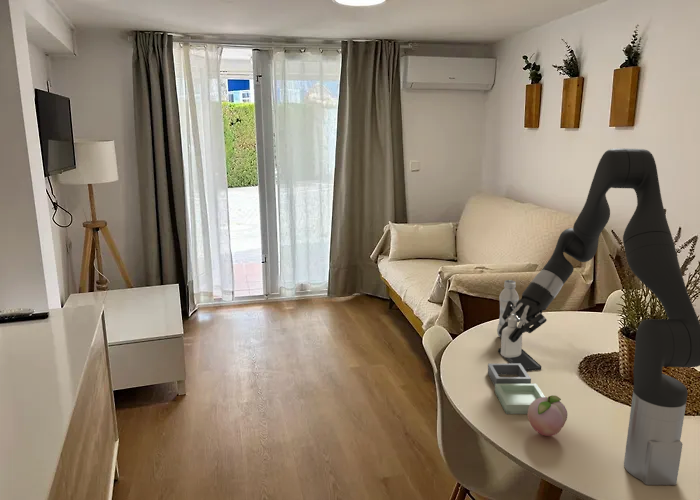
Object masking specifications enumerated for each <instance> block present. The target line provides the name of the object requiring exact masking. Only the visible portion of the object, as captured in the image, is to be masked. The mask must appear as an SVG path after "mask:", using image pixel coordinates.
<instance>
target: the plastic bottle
mask: <svg viewBox="0 0 700 500" xmlns="http://www.w3.org/2000/svg"><path fill="white" fill-rule="evenodd" d="M516 284H517V282H516V281H515V280H511V279H507V280H504V284H503V287H504V288H503V289H502V291H500V293H499V295H498V296H499V297H498V298H499V320H498V325H497V329H496V332H497V335H498V337H499V338H500V339H501V338H502V336H501V335H500V334H499V330H500V328H501V327H502V326H503V325H504V323H505V320H504V319H503V318H502V316H503V314H504V311H505V308H506V306H507V303H508V302H509V301H511V302H512V303H517V302H518V301H519V300H520V296H519V294H518V292H517V290H516V288H517V286H516Z"/></svg>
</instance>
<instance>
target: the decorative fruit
mask: <svg viewBox="0 0 700 500" xmlns="http://www.w3.org/2000/svg"><path fill="white" fill-rule="evenodd" d="M561 400H562V399H561V397H560V396H558V395H548V397H546V396H545V397H541V398H538V399H536V400H534V401H533V402H532V403H531V404H530V406H529V408H528V414H527V419H528V422H529V423H530V426H532V428H533V429H534V430H535V431H536V432H537V433H538V434H540V435H541V436H546V437H551V436H552V437H553V436H555V435H557V434H558V433H559V432H561V430H562V429H563V427H564V426H565V424H566V422H567V419H568V411H567V407H566V405H564V404H563V403H562V402H561Z"/></svg>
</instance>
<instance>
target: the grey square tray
mask: <svg viewBox="0 0 700 500" xmlns="http://www.w3.org/2000/svg"><path fill="white" fill-rule="evenodd" d="M487 374H488V376H489V378H490V380H491V382H492V384H493V386H494V387H495V384H532V383H531V382H532V378H531V376H530V375H529V374H528V371H525V369H524V368H523V366H522V365H521V363H509V362H508V363H488V364H487ZM499 375H500V376H499ZM501 375H502V376H501ZM503 375H505V376H503ZM506 375H510V376H506ZM511 375H517V376H511Z"/></svg>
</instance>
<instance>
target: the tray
mask: <svg viewBox="0 0 700 500" xmlns="http://www.w3.org/2000/svg"><path fill="white" fill-rule="evenodd" d="M494 393H495V396H496V397H497V399H498V401H499V403H500V404H501V407H502V409H503V411H504V412H505V414H506V415H528V408H529V406H530V404H531V403H532V402H533V401H534V400H536V399H538V398H541V397H546V396H545V395H544V393H543V391H542V390H541V388H540V387H539V386H538V383H531V384H495V386H494Z"/></svg>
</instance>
